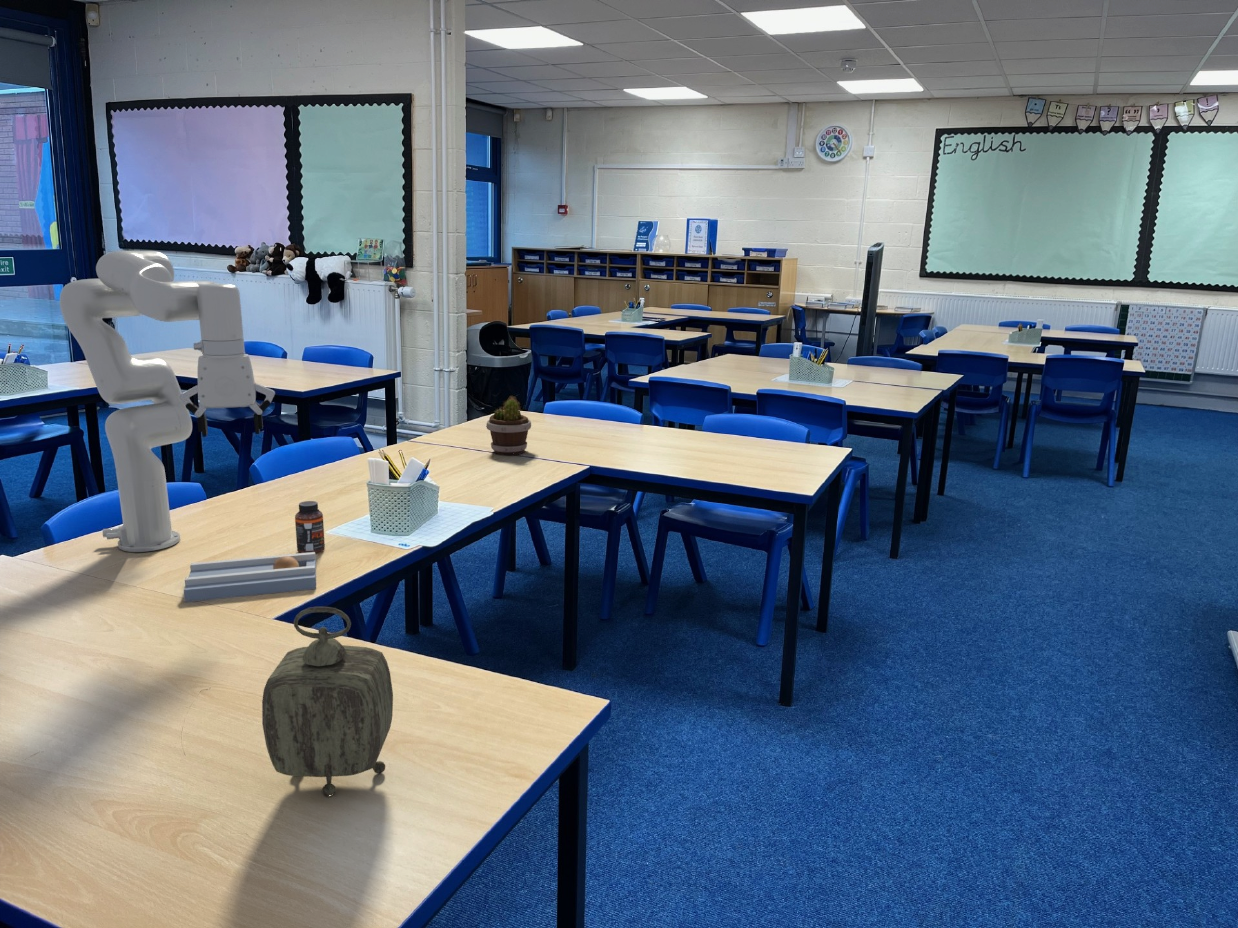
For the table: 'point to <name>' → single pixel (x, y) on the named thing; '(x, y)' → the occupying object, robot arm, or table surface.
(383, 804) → the table surface
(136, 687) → the table surface
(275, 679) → the tabletop clock
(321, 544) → the supplement bottle
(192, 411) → the robot arm
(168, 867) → the table surface
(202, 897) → the table surface
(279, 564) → the ball
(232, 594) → the track
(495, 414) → the flowerpot
